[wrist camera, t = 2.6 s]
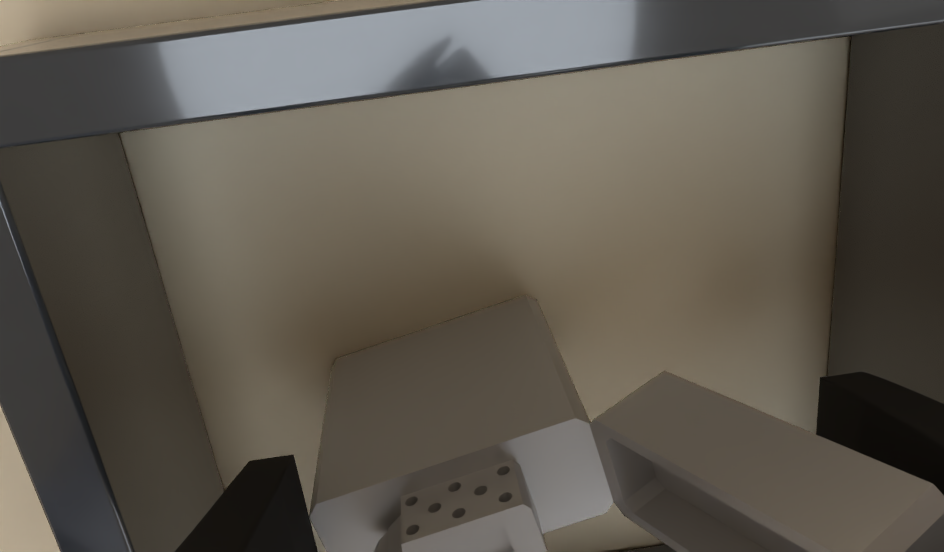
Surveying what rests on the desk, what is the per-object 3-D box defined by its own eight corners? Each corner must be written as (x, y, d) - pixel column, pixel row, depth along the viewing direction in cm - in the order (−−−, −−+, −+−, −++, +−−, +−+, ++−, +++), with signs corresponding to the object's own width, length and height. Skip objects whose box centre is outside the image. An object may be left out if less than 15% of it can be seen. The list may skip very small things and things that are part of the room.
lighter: (360, 433, 15) (332, 872, 8) (327, 361, 15) (263, 766, 7) (702, 319, 15) (1002, 660, 8) (684, 241, 14) (992, 531, 7)
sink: (240, 698, 18) (148, 1128, 11) (25, 39, 12) (-415, 129, 6) (850, 600, 18) (1103, 957, 12) (916, -74, 13) (1473, -115, 6)
